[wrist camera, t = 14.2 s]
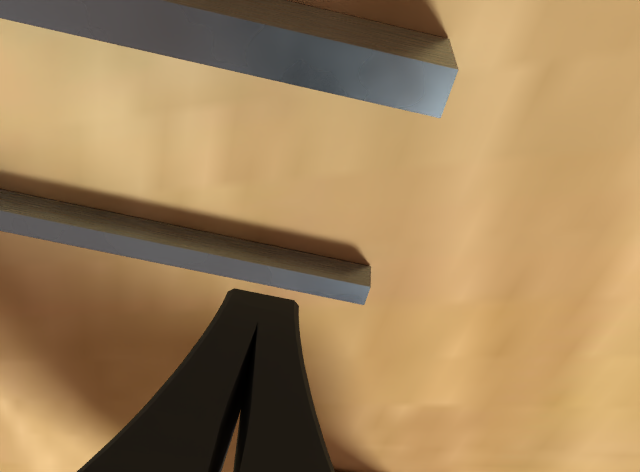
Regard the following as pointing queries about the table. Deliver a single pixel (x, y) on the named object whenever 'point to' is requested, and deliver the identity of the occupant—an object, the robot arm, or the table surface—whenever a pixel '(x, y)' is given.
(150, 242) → the rail
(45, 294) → the table surface
